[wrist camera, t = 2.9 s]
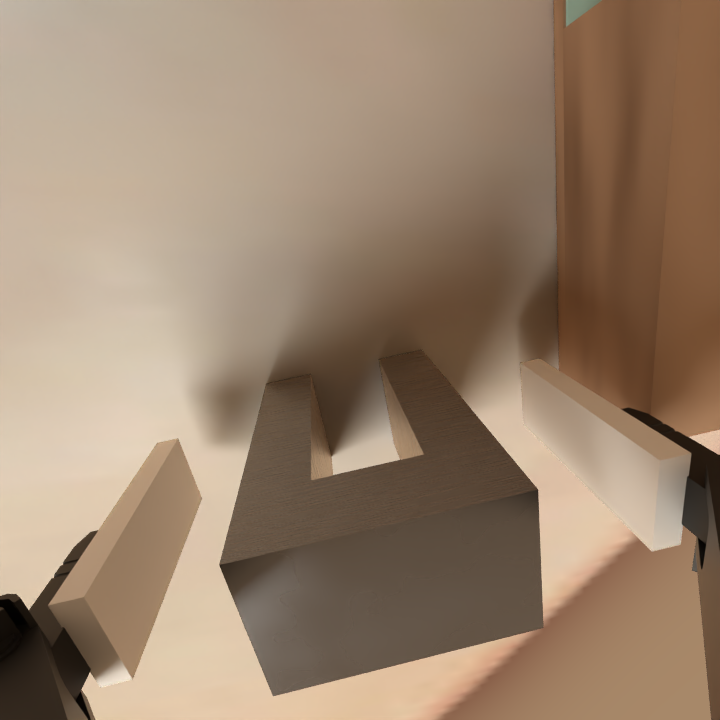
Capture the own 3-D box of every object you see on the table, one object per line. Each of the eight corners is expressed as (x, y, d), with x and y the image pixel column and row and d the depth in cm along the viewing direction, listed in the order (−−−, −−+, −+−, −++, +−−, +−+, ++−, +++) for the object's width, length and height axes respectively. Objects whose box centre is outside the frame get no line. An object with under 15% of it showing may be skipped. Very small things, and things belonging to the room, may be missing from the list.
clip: (290, 466, 18) (272, 696, 9) (266, 383, 16) (219, 565, 8) (433, 434, 18) (543, 627, 9) (421, 349, 17) (537, 489, 8)
